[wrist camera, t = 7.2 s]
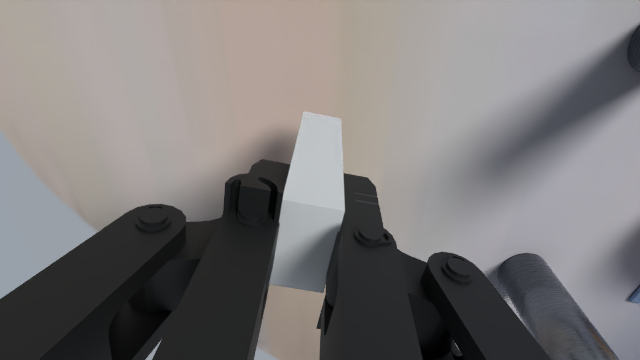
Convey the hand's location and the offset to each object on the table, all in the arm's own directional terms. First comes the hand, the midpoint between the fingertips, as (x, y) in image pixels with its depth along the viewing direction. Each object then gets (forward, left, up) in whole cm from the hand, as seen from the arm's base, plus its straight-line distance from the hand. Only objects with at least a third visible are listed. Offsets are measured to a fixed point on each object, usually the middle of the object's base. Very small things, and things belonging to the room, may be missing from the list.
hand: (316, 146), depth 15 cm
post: (-13, +6, -2) cm, 15 cm away
